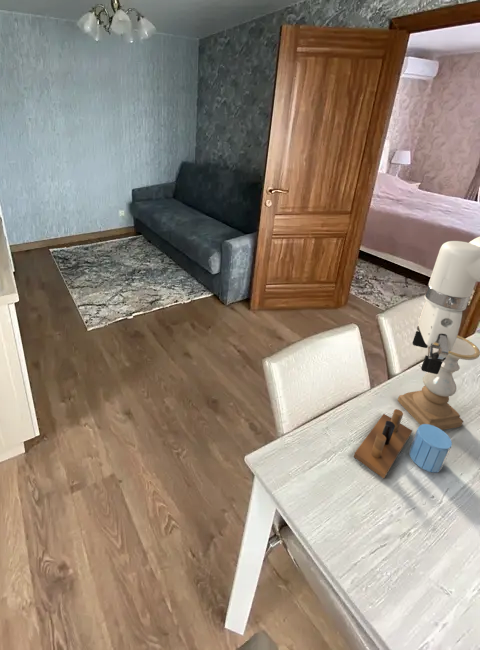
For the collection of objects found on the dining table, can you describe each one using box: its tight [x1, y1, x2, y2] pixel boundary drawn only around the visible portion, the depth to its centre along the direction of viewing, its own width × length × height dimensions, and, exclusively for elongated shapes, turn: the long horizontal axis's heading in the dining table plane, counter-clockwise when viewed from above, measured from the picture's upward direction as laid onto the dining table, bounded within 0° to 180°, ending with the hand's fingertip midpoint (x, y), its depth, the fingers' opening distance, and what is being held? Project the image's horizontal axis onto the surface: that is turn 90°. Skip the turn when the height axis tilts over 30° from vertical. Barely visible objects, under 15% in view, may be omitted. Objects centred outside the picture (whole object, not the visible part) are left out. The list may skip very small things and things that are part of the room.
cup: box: [408, 424, 453, 473], centre depth 83 cm, size 7×7×8 cm
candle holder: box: [397, 334, 480, 431], centre depth 93 cm, size 11×11×24 cm
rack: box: [353, 408, 413, 479], centre depth 86 cm, size 18×7×8 cm, turn 130°
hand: (424, 358), depth 82 cm, fingers open, 9 cm apart
